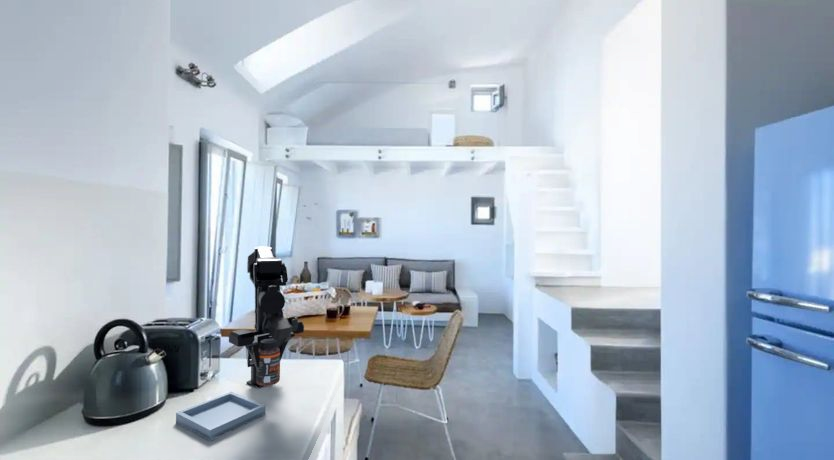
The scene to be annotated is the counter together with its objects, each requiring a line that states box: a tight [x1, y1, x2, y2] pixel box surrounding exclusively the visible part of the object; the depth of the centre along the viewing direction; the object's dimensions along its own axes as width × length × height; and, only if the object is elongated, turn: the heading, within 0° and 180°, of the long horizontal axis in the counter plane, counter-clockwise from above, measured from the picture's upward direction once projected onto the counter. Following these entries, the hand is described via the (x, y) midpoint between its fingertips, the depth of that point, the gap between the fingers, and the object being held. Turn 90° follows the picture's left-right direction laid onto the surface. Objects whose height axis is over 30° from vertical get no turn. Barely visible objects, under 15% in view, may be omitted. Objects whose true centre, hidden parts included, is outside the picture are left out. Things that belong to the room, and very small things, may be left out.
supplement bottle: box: [256, 339, 281, 387], centre depth 106 cm, size 6×6×11 cm
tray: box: [175, 391, 266, 442], centre depth 102 cm, size 15×15×2 cm
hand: (268, 363), depth 106 cm, fingers closed on supplement bottle, 6 cm apart
